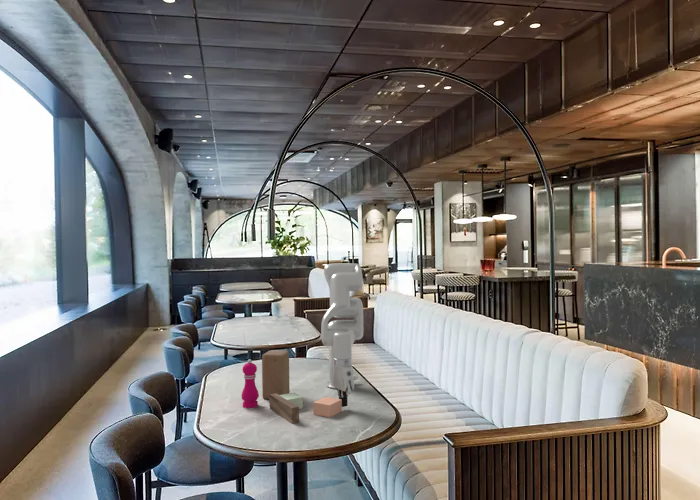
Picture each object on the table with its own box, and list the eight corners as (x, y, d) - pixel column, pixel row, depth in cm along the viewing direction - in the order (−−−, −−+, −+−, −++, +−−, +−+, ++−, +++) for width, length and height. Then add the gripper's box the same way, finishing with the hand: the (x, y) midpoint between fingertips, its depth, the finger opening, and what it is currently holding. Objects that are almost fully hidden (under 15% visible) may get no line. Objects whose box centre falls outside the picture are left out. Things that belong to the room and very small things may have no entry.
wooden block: (283, 400, 240) (282, 355, 240) (261, 399, 242) (261, 354, 242) (290, 394, 250) (289, 350, 249) (269, 393, 252) (268, 349, 251)
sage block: (294, 404, 235) (294, 392, 235) (302, 408, 228) (302, 396, 228) (275, 407, 231) (275, 395, 230) (283, 412, 224) (282, 400, 224)
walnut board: (276, 407, 230) (276, 393, 230) (299, 422, 211) (298, 406, 211) (269, 408, 228) (269, 394, 228) (292, 423, 209) (291, 408, 209)
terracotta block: (325, 408, 228) (325, 396, 228) (341, 411, 224) (341, 399, 224) (313, 414, 220) (313, 402, 220) (329, 417, 216) (329, 405, 216)
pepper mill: (261, 404, 234) (261, 358, 234) (253, 409, 228) (252, 361, 227) (247, 402, 237) (246, 357, 236) (238, 407, 230) (237, 360, 230)
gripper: (360, 364, 221) (360, 409, 221) (341, 357, 234) (341, 400, 234) (344, 366, 217) (344, 412, 217) (325, 359, 230) (326, 403, 230)
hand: (343, 406), depth 226 cm, fingers closed
